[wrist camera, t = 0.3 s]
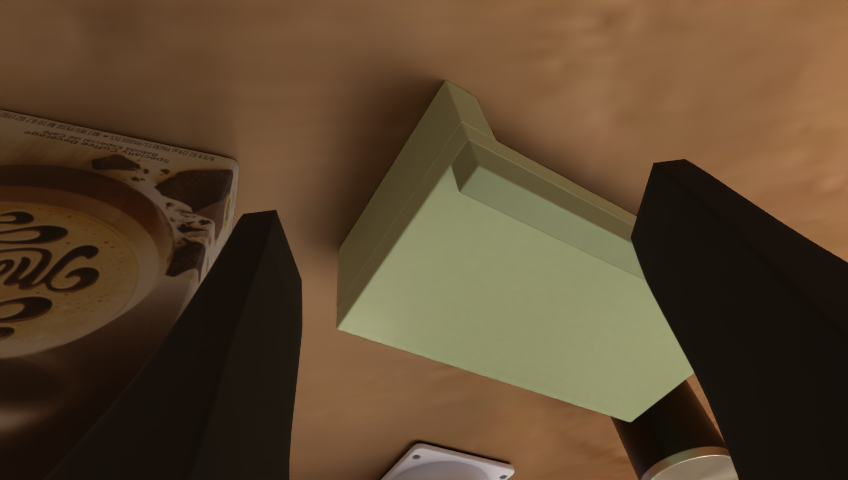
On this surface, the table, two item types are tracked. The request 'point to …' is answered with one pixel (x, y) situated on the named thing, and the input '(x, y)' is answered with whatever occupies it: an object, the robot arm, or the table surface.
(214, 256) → the coffee box
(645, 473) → the canister
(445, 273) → the shelf
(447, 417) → the table surface
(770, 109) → the table surface
